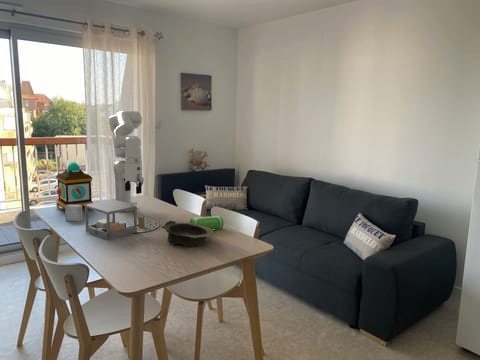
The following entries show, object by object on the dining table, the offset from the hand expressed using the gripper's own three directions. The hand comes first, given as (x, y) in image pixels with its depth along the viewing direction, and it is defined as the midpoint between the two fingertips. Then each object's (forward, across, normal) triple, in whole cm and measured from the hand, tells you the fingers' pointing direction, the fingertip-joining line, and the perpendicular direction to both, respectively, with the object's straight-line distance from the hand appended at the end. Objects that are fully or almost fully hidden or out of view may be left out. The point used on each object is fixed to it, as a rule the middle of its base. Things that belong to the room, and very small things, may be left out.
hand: (133, 192), depth 196 cm
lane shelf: (+20, +2, +12) cm, 23 cm away
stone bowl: (+21, -38, -5) cm, 43 cm away
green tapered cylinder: (+20, -31, -25) cm, 45 cm away
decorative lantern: (+19, +56, +4) cm, 60 cm away
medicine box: (+20, +34, +16) cm, 42 cm away
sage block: (+20, +7, +13) cm, 25 cm away
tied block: (+20, -3, +6) cm, 21 cm away
